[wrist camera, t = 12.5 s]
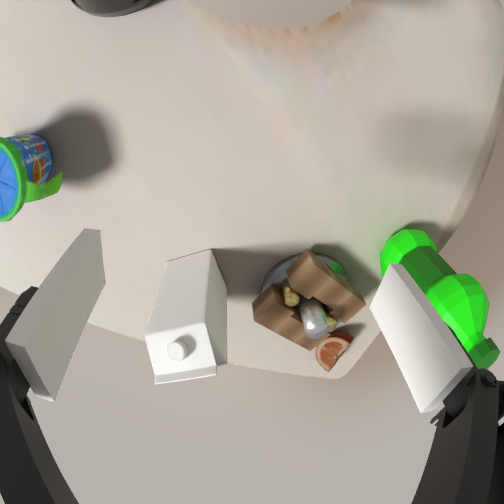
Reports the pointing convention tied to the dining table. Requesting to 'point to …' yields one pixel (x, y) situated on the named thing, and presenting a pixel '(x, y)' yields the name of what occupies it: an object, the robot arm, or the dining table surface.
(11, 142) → the snack cup
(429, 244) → the plastic bottle
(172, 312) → the milk carton
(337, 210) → the dining table surface
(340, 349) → the fruit slice
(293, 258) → the post base
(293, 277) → the flange block
